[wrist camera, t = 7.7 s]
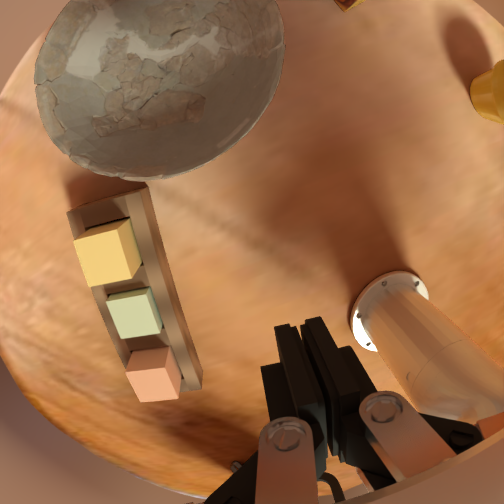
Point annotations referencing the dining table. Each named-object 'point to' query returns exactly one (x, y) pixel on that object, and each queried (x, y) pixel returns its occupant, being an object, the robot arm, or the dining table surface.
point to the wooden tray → (143, 281)
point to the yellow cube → (108, 252)
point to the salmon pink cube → (154, 374)
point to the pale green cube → (135, 312)
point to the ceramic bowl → (157, 81)
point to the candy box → (348, 4)
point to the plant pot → (489, 93)
